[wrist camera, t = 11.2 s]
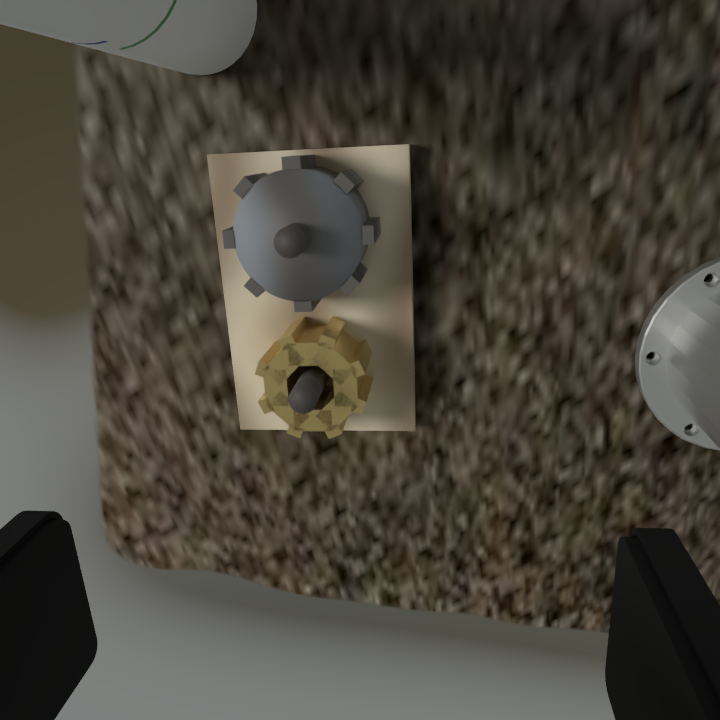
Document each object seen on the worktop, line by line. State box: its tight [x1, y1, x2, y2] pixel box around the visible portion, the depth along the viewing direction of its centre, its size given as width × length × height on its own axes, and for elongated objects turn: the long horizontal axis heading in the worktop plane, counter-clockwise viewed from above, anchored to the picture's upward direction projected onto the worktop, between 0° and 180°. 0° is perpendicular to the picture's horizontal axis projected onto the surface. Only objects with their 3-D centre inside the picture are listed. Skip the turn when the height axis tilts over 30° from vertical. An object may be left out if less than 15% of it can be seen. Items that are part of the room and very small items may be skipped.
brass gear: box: [255, 316, 373, 439], centre depth 39 cm, size 7×7×4 cm
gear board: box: [207, 144, 416, 431], centre depth 37 cm, size 12×18×7 cm, turn 3°
